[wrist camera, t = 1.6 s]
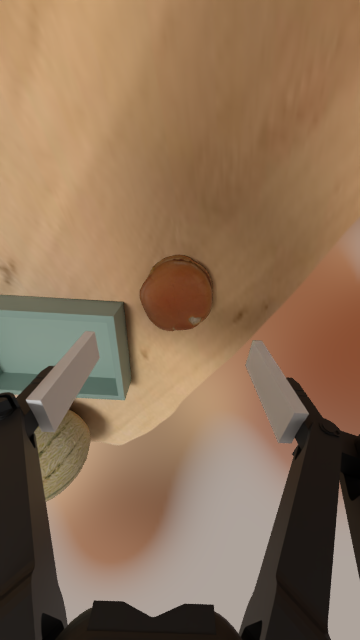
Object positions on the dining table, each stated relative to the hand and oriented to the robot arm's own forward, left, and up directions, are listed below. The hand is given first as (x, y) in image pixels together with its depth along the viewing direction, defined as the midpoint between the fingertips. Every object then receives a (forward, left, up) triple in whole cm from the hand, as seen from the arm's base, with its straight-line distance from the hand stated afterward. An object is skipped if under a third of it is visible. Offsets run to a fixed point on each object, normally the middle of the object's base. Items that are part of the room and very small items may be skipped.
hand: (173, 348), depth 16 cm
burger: (0, 0, -13) cm, 13 cm away
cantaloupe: (+30, -23, -13) cm, 40 cm away
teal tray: (+10, -20, -12) cm, 25 cm away
